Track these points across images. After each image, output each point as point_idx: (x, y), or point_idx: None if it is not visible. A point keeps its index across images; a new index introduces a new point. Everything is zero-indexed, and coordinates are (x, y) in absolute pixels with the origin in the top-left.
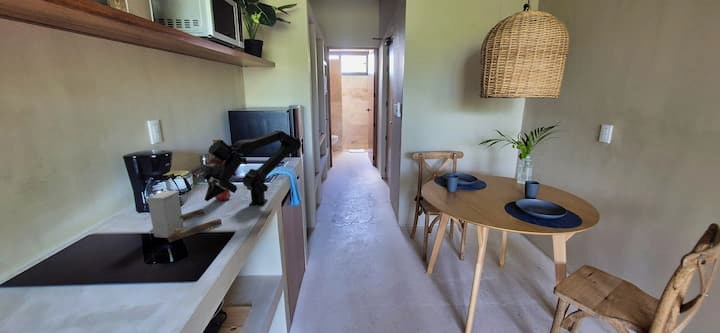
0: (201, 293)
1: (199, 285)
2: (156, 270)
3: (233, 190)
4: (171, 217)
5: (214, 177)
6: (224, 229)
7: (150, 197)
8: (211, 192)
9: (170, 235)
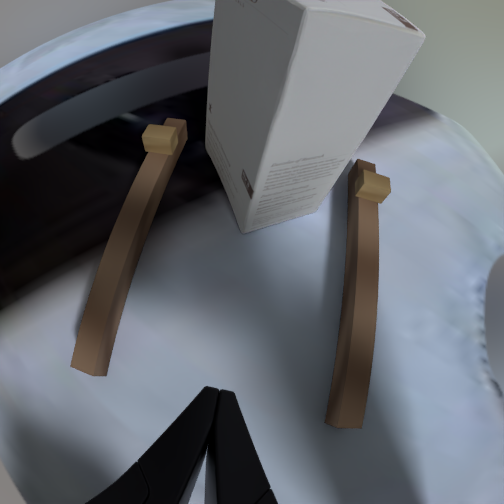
0: None
1: None
2: (84, 76)
3: None
4: (221, 103)
5: None
6: (33, 322)
7: None
8: (129, 477)
9: (174, 125)
